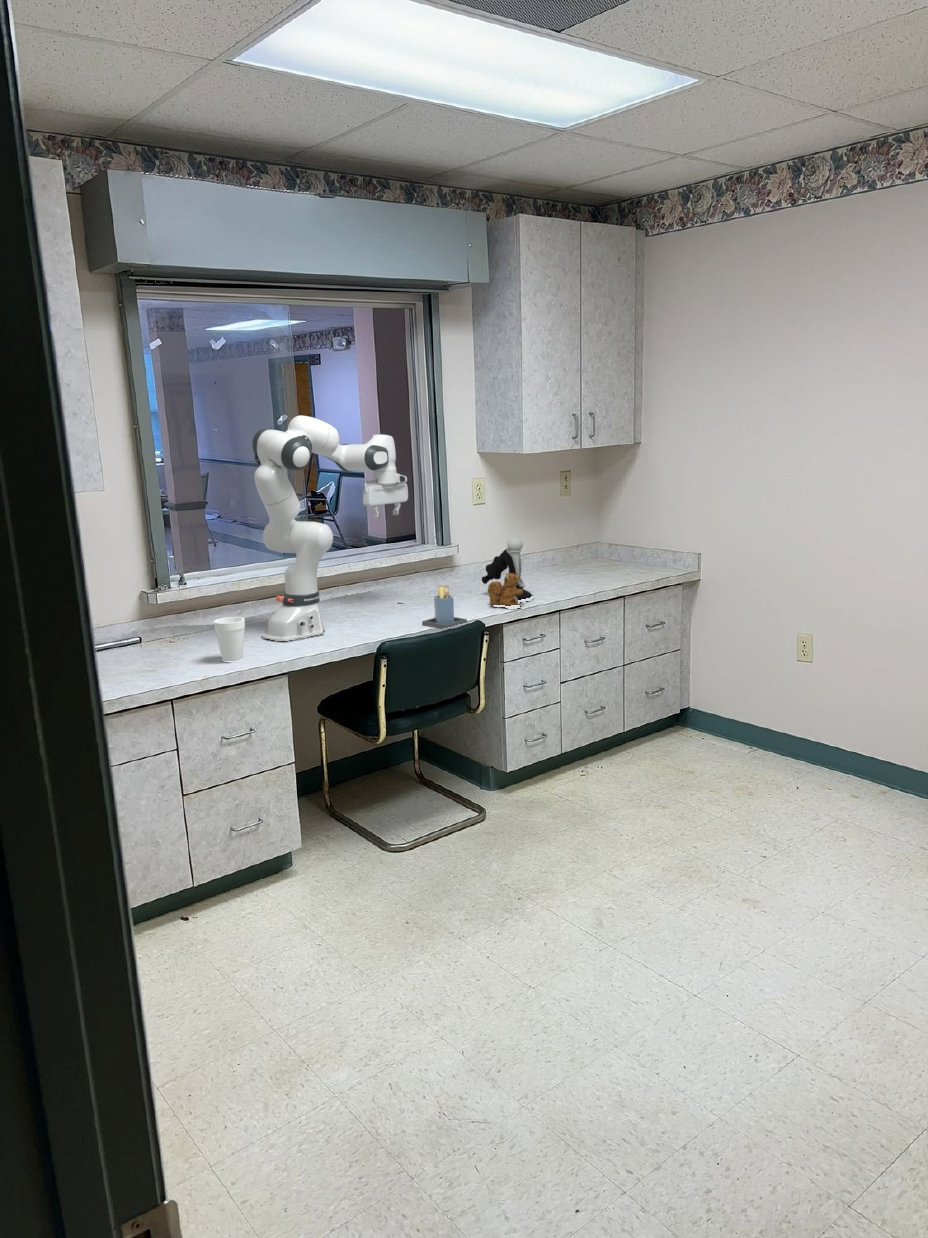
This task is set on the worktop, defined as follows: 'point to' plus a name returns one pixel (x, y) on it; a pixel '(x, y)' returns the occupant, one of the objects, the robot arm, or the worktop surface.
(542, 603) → the worktop surface
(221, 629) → the foam cup
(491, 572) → the sculpture
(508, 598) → the stuffed squirrel
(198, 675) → the worktop surface
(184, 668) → the worktop surface
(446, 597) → the wooden peg
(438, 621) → the pencil cup
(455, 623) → the gray square frame
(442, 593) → the mustard peg
